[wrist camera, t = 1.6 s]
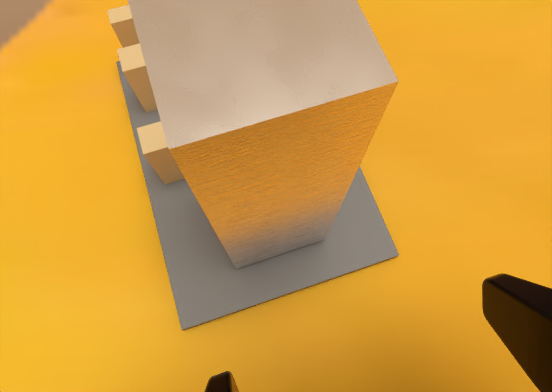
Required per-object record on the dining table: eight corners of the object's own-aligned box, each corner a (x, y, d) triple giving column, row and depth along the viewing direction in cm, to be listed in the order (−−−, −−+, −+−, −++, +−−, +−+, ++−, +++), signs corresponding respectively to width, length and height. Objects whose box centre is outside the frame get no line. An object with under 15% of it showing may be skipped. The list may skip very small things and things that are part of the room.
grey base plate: (396, 256, 22) (423, 236, 18) (184, 330, 21) (160, 326, 17) (292, 20, 28) (294, -38, 24) (119, 66, 27) (89, 14, 22)
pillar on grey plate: (325, 239, 22) (398, 81, 9) (233, 269, 21) (161, 151, 8) (294, 158, 23) (316, -78, 10) (207, 185, 23) (113, -28, 10)
